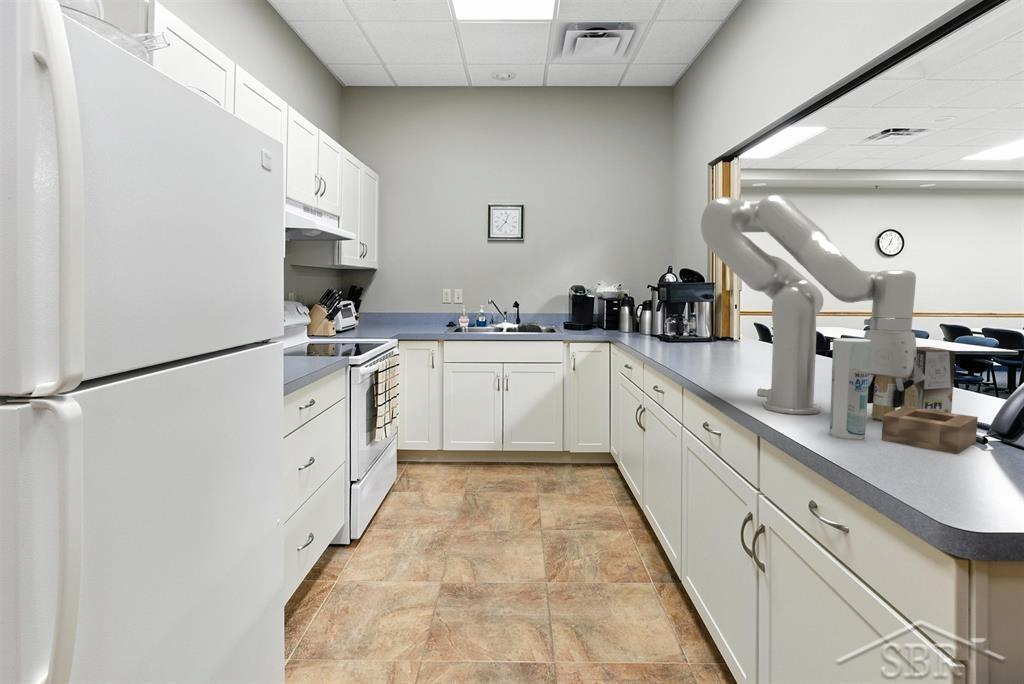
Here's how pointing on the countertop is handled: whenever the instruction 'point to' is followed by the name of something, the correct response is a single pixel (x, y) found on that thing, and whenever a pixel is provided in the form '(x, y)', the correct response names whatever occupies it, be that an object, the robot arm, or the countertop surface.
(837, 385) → the spray can
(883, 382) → the sprinkles bottle
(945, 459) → the countertop surface
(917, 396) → the coffee box
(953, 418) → the bore block
